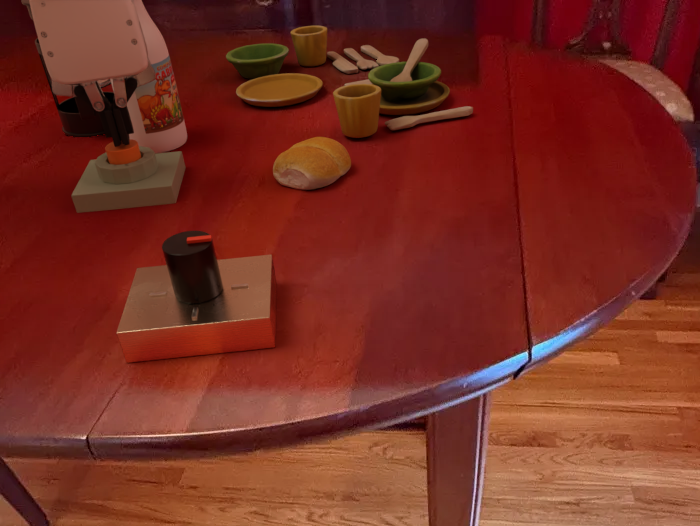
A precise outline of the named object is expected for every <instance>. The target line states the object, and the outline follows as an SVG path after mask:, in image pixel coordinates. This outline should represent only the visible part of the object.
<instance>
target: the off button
mask: <svg viewBox="0 0 700 526" xmlns="http://www.w3.org/2000/svg"><path fill="white" fill-rule="evenodd" d="M129 142H130V144H129V145H125V144H122V141H121V145H120V146H117V147H115V146H114V142H113V141H112V142H110V143H107V144H106V145H105V147H104V149H105V153H107V157H108V160H109V163H110V164H113V165H121V164H128V163H131V162H135V161H137V160H139V159H140V158H141V153H140V149H139V146H138V142H137V141H136V140H132V139H129Z"/></svg>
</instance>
